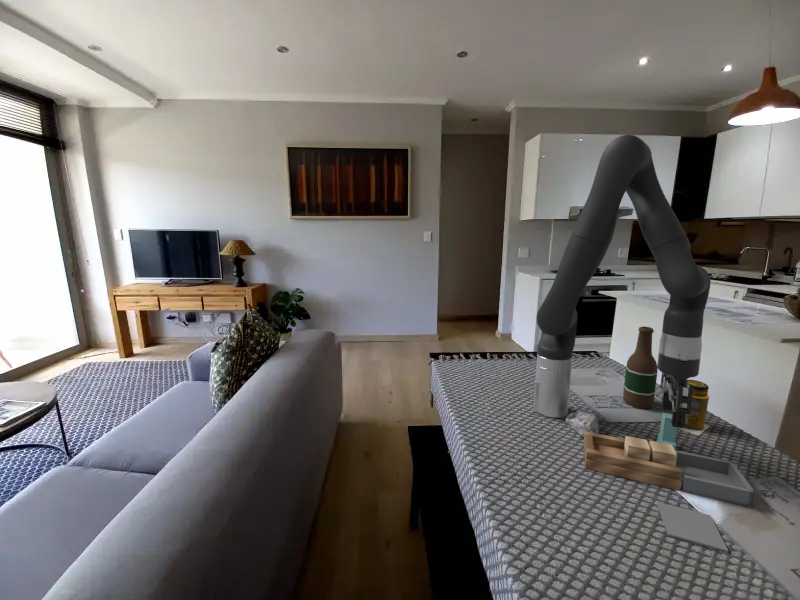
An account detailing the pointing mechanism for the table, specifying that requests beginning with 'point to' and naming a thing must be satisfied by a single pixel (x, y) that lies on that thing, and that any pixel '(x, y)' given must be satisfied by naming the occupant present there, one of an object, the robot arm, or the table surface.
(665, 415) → the teal t-shaped block
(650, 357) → the beer bottle
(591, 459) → the slot board
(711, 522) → the mat
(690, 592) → the table surface
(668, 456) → the tan block
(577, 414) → the mineral specimen
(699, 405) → the condiment
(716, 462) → the tray
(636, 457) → the tan wooden cube
